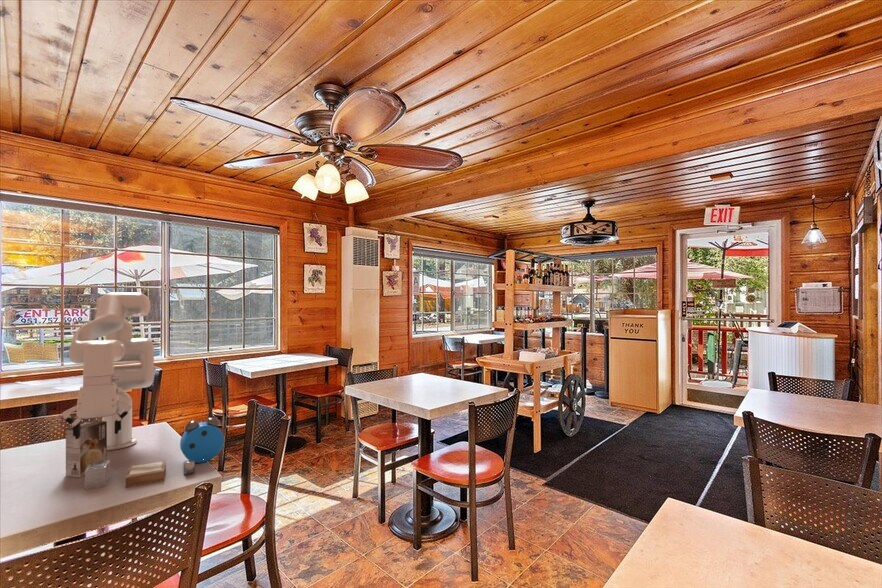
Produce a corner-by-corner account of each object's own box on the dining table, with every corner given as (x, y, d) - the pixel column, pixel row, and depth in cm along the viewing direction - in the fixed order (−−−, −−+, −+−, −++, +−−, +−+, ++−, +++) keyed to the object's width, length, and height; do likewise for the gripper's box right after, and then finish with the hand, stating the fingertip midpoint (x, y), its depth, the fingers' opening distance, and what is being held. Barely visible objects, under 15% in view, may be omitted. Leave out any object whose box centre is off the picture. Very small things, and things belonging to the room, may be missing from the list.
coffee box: (92, 465, 148) (93, 419, 148) (107, 467, 147) (107, 420, 147) (64, 476, 139) (65, 427, 139) (80, 477, 138) (80, 428, 138)
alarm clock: (219, 453, 159) (220, 414, 159) (224, 458, 154) (224, 417, 154) (179, 462, 150) (180, 420, 151) (182, 467, 146) (183, 424, 146)
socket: (183, 473, 141) (183, 461, 141) (194, 471, 143) (194, 459, 143) (183, 476, 139) (183, 464, 139) (194, 474, 140) (194, 462, 140)
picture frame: (129, 475, 139) (129, 465, 139) (165, 469, 144) (165, 460, 144) (125, 487, 130) (125, 476, 130) (163, 480, 136) (163, 470, 136)
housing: (84, 490, 129) (84, 469, 129) (89, 481, 135) (89, 462, 135) (105, 486, 131) (105, 466, 132) (109, 478, 138) (109, 459, 138)
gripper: (133, 376, 141) (132, 428, 141) (65, 382, 132) (64, 436, 132) (130, 380, 135) (129, 433, 134) (59, 385, 126) (58, 443, 125)
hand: (97, 435), depth 133 cm, fingers open, 9 cm apart
